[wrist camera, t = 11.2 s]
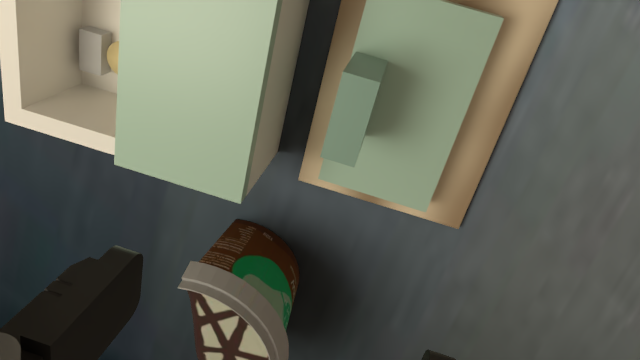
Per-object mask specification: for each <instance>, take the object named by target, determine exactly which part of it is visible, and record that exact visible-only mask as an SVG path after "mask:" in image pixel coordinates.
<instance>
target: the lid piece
mask: <svg viewBox="0 0 640 360" xmlns="http://www.w3.org/2000/svg"><path fill="white" fill-rule="evenodd" d="M503 20H504V18H503V17H502V16H500V15H497V14H493V13H490V12H486V11H482V10H479V9H475V8H472V7H468V6H465V5H461V4H458V3H454V2H451V1H447V0H366V4H365V8H364V11H363V15H362V19H361V22H360V26H359V30H358V33H357V37H356V41H355V44H354V48H353V52H352V55H351V59H350V61H349V63H348V64H347V66H346V67H345V69H344V71H343V73H342V77H341V80H340V84H339V88H338V92H337V95H336V99H335V103H334V107H333V110H332V114H331V118H330V122H329V125H328V129H327V133H326V137H325V140H324V144H323V148H322V152H321V155H320V157H321V158H324V159H323V163H322V166H321V170H320V174H319V177H318V179H320V180H323V181H326V182H330V183H333V184H336V185H339V186H342V187H346V188H349V189H352V190H355V191H358V192H362V193H365V194H368V195H371V196H374V197H378V198H381V199H384V200H387V201H390V202H394V203H397V204H400V205H403V206H406V207H410V208H413V209H416V210H419V211H422V212H426V211H427V208H428V206H429V203H430V201H431V198H432V196H433V193H434V191H435V188H436V186H437V183H438V181H439V179H440V176H441V174H442V171H443V169H444V166H445V164H446V161H447V159H448V156H449V154H450V151H451V149H452V146H453V144H454V141H455V139H456V136H457V134H458V131H459V129H460V126H461V124H462V121H463V119H464V117H465V114H466V112H467V109H468V107H469V104H470V102H471V99H472V97H473V94H474V92H475V89H476V87H477V84H478V82H479V79H480V77H481V74H482V72H483V69H484V67H485V64H486V62H487V59H488V57H489V55H490V52H491V50H492V47H493V45H494V42H495V40H496V37H497V35H498V32H499V30H500V27H501V25H502V22H503Z"/></svg>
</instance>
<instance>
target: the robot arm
mask: <svg viewBox="0 0 640 360" xmlns="http://www.w3.org/2000/svg"><path fill="white" fill-rule="evenodd" d="M142 268H143V256H142V254H140V253H137V252H134V251H131V250H128V249H125V248H122V247H119V246H113V247H112V248H110V249H109V250H108V251H107V252H106V253H105V254H104V255H103V256H102V257H101V258H100V259H99V260H96V259H93V258H90V257H89V258H87V259H85V260H82V261H80V262H78V263H76V264H74V265H71V266H70V267H69V268H68V269H66V270H65V271H64V272H63V273H62V274H61V275H60V276H59V277H58V278H56V281H53V282H52V283H51V284H50V285H49V286H48V287H46V288H45V291H44V292H41V293H40V294H39V295H38V296H37V297H35V298H34V299H33V300H32V301H31V302H30V303H29V304H28V305H27V306H25V307H24V308H23V309H22V310H21V311H20V312H19V313H18V314H17V315H15V316H14V317H13V318H12V319H11V320H10V321H9V322H8V323H7V324H5V325H4V326H3V327H2V328H1V329H0V360H98V358H99V357H100V356H101V355H102V353H103V352H104V351H105V350H106V348H107V347H108V346H109V345H110V343H111V342H112V341H113V340H114V338H115V337H116V336H117V335H118V333H119V332H120V331H121V330H122V328H123V327H124V326H125V325H126V323H127V322H128V321H129V320H130V318H131V317H132V315H133V314H134V312H135V310H136V308H137V305H138V303H139V299H140V292H141V280H142ZM422 360H456V359H455V358H452V357H449V356H446V355H443V354H440V353H437V352H434V351H431V350H426V352H425V353H424V355H423V357H422Z"/></svg>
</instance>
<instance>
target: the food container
mask: <svg viewBox="0 0 640 360" xmlns="http://www.w3.org/2000/svg"><path fill="white" fill-rule="evenodd" d="M298 283H299V267H298V264H297V261H296V258H295V256H294V254H293V252H292V251H291V249H290V248H289V247H288V245H287V244H286V243H285V242H284V241H283V240H282V239H281V238H280V237H279V236H277V235H276V234H275V233H273V232H272V231H270V230H269V229H267V228H265V227H263V226H261V225H258V224H256V223H253V222H249V221H246V220H239V219H236V220H235V221H234V222H233V223H232V224H231V225H230V227H229V228H228V229H227V230H226V231H225V232H224V233H223V235H222V236H221V237H220V238H219V239H218V240H217V241H216V243H215V244H214V245H213V246H212V247H211V248H210V250H209V251H208V252H207V253H206V254H205V255H204V256H203V258H202V259H201V260H200V261H199V262H194V261H190V263H189V265H188V267H187V269H186V271H185V273H184V274H183V276H182V282H181V283H180V285H179V286H178V288H179V289H185V290H187V291H188V294H189V297H190V301H191V308H192V314H193V323H194V336H195V346H196V353H197V357H198V360H288V356H289V344H288V338H287V334H286V328H287V325H288V321H289V317H290V313H291V310H292V306H293V302H294V298H295V295H296V291H297V287H298Z"/></svg>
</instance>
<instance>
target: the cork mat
mask: <svg viewBox="0 0 640 360" xmlns="http://www.w3.org/2000/svg"><path fill="white" fill-rule="evenodd" d="M447 1H451V2H454V3H458V4H461V5H465V6H468V7H472V8H475V9H479V10H482V11H486V12H490V13H493V14H497V15H500V16H502V17H503V18H504V20H503V22H502V25H501V27H500V30H499V32H498V35H497V37H496V40H495V42H494V45H493V47H492V50H491V52H490V55H489V57H488V59H487V62H486V64H485V67H484V69H483V72H482V74H481V77H480V79H479V82H478V84H477V87H476V89H475V92H474V94H473V97H472V99H471V102H470V104H469V107H468V109H467V112H466V114H465V117H464V119H463V121H462V124H461V126H460V129H459V131H458V134H457V136H456V139H455V141H454V144H453V146H452V149H451V151H450V154H449V156H448V159H447V161H446V164H445V166H444V169H443V171H442V174H441V176H440V179H439V181H438V183H437V186H436V188H435V191H434V193H433V196H432V198H431V201H430V203H429V206H428V208H427V211H426V212H422V211H419V210H416V209H413V208H410V207H406V206H403V205H400V204H397V203H394V202H390V201H387V200H384V199H381V198H378V197H374V196H371V195H368V194H365V193H362V192H358V191H355V190H352V189H349V188H346V187H342V186H339V185H336V184H333V183H330V182H326V181H323V180H320V179H318V177H319V174H320V170H321V166H322V163H323V159H324V158H321V157H320V155H321V152H322V148H323V144H324V140H325V137H326V133H327V129H328V125H329V122H330V118H331V114H332V110H333V107H334V103H335V99H336V95H337V92H338V88H339V84H340V80H341V77H342V73H343V71H344V69H345V67H346V66H347V64H348V63H349V61H350V59H351V55H352V52H353V48H354V44H355V41H356V37H357V33H358V30H359V26H360V22H361V19H362V15H363V11H364V8H365V4H366V0H341V4H340V8H339V13H338V17H337V21H336V25H335V29H334V33H333V38H332V42H331V46H330V50H329V54H328V58H327V63H326V67H325V71H324V75H323V79H322V83H321V88H320V92H319V96H318V100H317V104H316V108H315V112H314V117H313V121H312V125H311V129H310V133H309V137H308V142H307V146H306V150H305V154H304V158H303V162H302V167H301V171H300V175H299V179H298V180H300V181H303V182H307V183H310V184H313V185H316V186H320V187H323V188H326V189H329V190H333V191H336V192H339V193H343V194H346V195H349V196H352V197H356V198H359V199H362V200H365V201H369V202H372V203H375V204H378V205H382V206H385V207H388V208H392V209H395V210H398V211H401V212H405V213H408V214H411V215H414V216H418V217H421V218H424V219H427V220H431V221H434V222H437V223H441V224H444V225H447V226H450V227H454V228H457V229H459V227H460V224H461V222H462V220H463V217H464V215H465V213H466V211H467V208H468V206H469V204H470V201H471V199H472V197H473V195H474V192H475V190H476V188H477V185H478V183H479V181H480V179H481V176H482V174H483V172H484V169H485V167H486V165H487V163H488V160H489V158H490V156H491V153H492V151H493V149H494V147H495V144H496V142H497V140H498V137H499V135H500V133H501V131H502V128H503V126H504V124H505V121H506V119H507V117H508V115H509V112H510V110H511V108H512V105H513V103H514V101H515V99H516V96H517V94H518V92H519V89H520V87H521V85H522V83H523V80H524V78H525V76H526V73H527V71H528V69H529V67H530V64H531V62H532V60H533V57H534V55H535V53H536V51H537V48H538V46H539V44H540V41H541V39H542V37H543V35H544V32H545V30H546V28H547V25H548V23H549V21H550V19H551V16H552V14H553V12H554V9H555V7H556V5H557V3H558V0H447Z"/></svg>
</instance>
